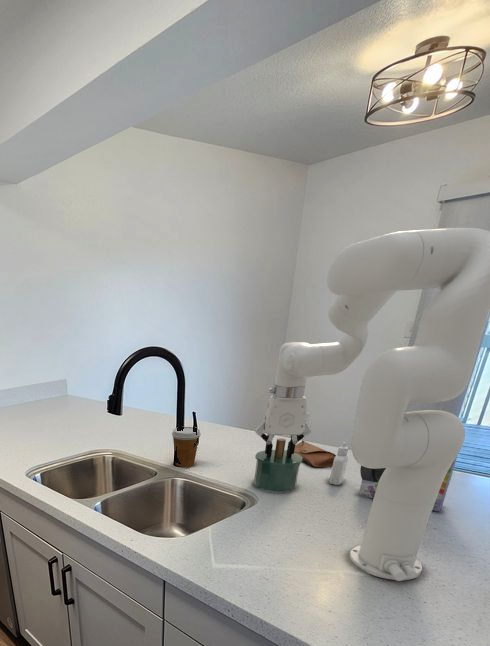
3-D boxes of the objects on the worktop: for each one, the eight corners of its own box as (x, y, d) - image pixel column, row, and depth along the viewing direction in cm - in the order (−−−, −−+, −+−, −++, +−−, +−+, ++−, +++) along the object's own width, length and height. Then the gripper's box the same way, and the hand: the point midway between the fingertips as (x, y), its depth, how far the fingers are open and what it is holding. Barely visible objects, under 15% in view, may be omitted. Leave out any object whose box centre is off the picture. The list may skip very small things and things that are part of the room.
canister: (299, 493, 123) (304, 465, 120) (257, 492, 126) (260, 464, 122) (290, 479, 133) (295, 452, 129) (251, 478, 136) (254, 452, 132)
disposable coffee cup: (165, 462, 153) (166, 428, 147) (188, 458, 156) (190, 424, 150) (180, 470, 145) (181, 435, 139) (204, 465, 148) (207, 431, 142)
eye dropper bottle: (349, 482, 129) (358, 443, 123) (335, 486, 127) (344, 446, 121) (336, 477, 132) (344, 439, 127) (322, 481, 130) (330, 442, 125)
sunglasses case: (280, 451, 155) (292, 434, 153) (294, 458, 158) (305, 442, 156) (315, 467, 139) (328, 448, 137) (329, 475, 142) (342, 457, 140)
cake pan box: (353, 495, 121) (368, 432, 113) (358, 489, 124) (374, 428, 116) (438, 513, 108) (462, 445, 100) (442, 507, 111) (465, 440, 103)
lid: (306, 468, 119) (311, 446, 116) (258, 467, 122) (261, 446, 119) (296, 453, 130) (299, 433, 127) (252, 453, 133) (254, 433, 130)
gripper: (257, 395, 115) (249, 460, 124) (327, 394, 112) (313, 461, 120) (253, 389, 122) (246, 452, 130) (319, 388, 119) (307, 452, 127)
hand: (278, 455), depth 125 cm, fingers open, 4 cm apart
